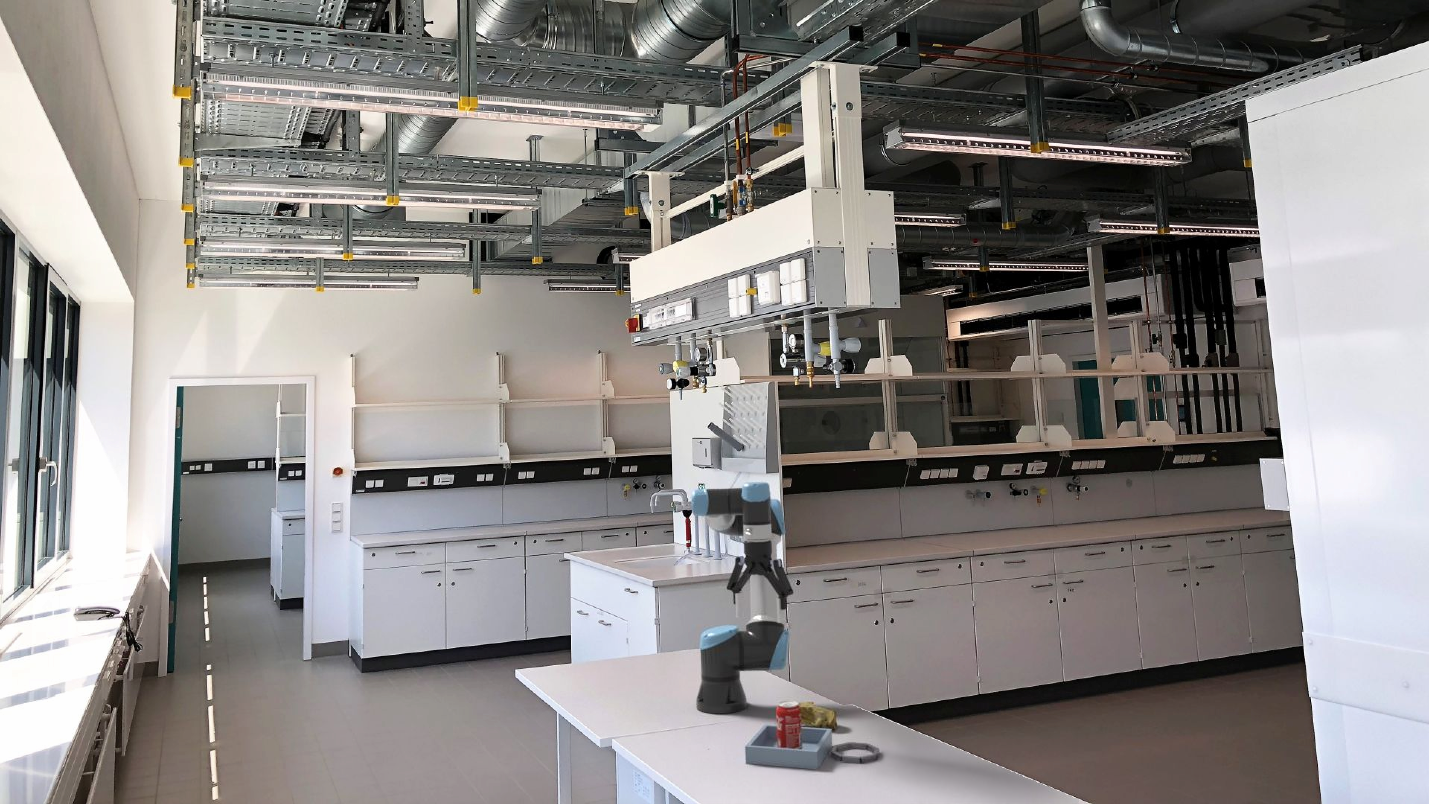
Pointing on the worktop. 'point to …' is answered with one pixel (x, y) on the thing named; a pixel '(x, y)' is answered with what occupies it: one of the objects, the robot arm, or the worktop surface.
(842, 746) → the ring
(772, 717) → the worktop surface
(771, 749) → the bin
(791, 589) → the robot arm
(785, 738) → the beverage can
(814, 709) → the animal skull
